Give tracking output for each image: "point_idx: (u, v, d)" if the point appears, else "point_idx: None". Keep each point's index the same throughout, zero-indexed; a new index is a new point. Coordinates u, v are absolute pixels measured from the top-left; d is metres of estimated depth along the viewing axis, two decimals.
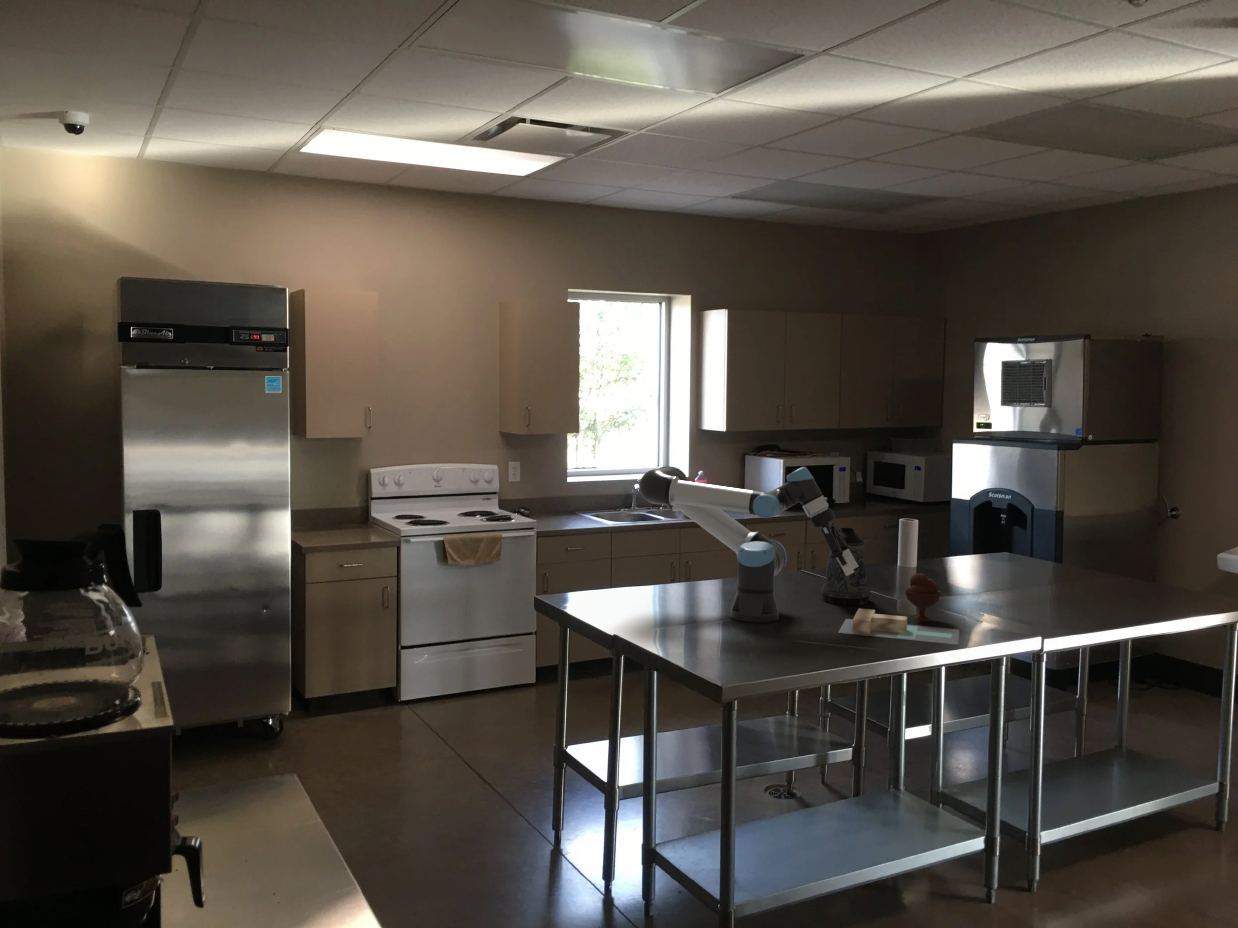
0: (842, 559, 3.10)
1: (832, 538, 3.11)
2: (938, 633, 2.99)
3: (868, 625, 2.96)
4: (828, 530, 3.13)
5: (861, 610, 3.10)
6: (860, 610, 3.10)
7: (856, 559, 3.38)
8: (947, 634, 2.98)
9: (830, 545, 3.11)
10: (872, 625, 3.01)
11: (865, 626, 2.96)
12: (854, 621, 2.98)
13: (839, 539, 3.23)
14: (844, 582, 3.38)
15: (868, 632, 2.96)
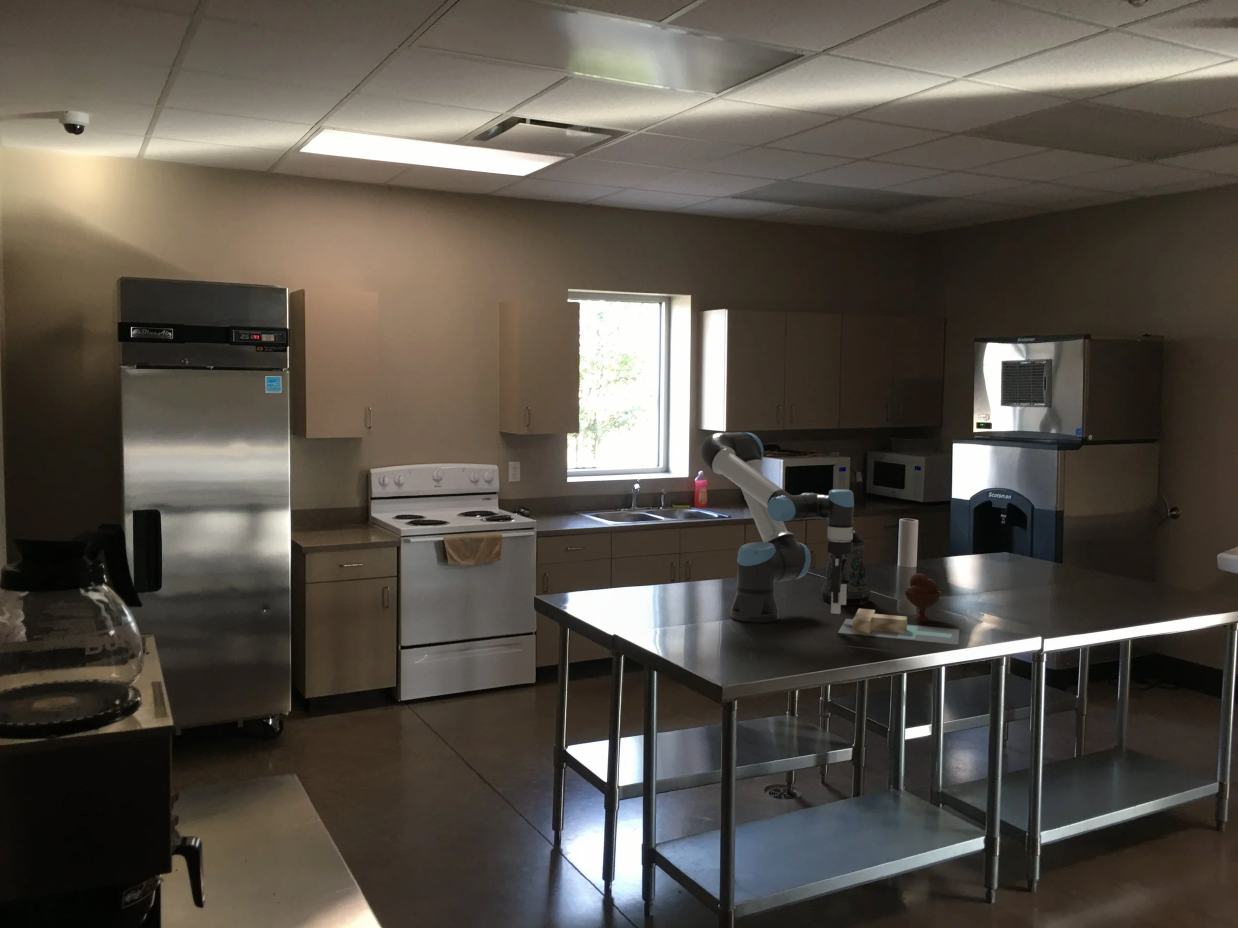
0: (836, 597, 2.98)
1: (838, 573, 2.98)
2: (938, 633, 2.99)
3: (868, 625, 2.96)
4: (839, 563, 2.99)
5: (861, 610, 3.10)
6: (860, 610, 3.10)
7: (856, 559, 3.38)
8: (947, 634, 2.98)
9: (833, 578, 2.98)
10: (872, 625, 3.01)
11: (865, 626, 2.96)
12: (854, 621, 2.98)
13: (843, 572, 3.09)
14: None
15: (868, 632, 2.96)
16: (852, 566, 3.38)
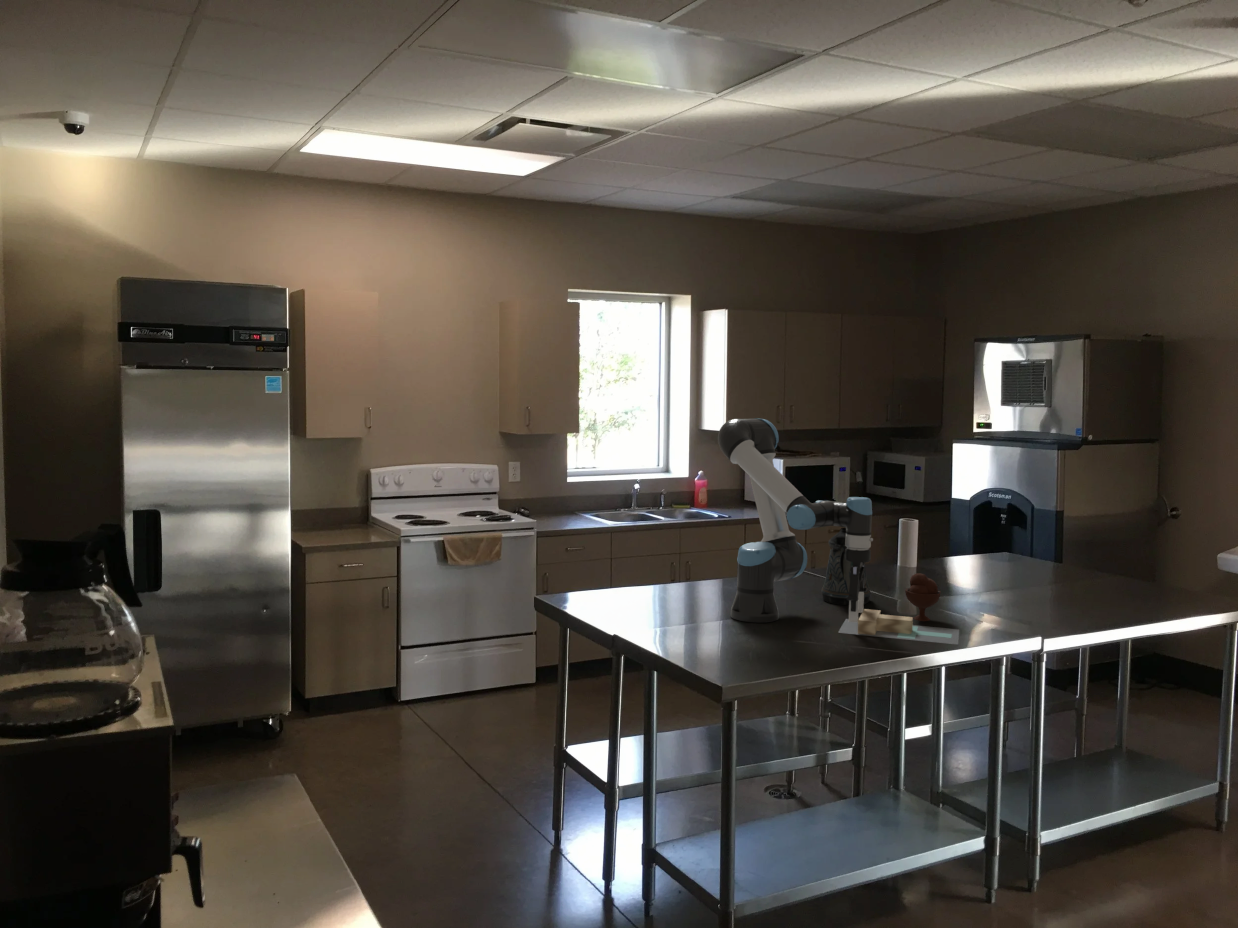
0: (854, 605, 2.97)
1: (856, 581, 2.96)
2: (938, 633, 2.99)
3: (874, 626, 2.96)
4: (857, 572, 2.97)
5: (867, 611, 3.09)
6: (865, 611, 3.09)
7: None
8: (947, 634, 2.98)
9: (851, 587, 2.96)
10: (878, 626, 3.01)
11: (871, 627, 2.96)
12: (859, 622, 2.97)
13: (861, 580, 3.08)
14: (844, 582, 3.38)
15: (874, 633, 2.96)
16: None
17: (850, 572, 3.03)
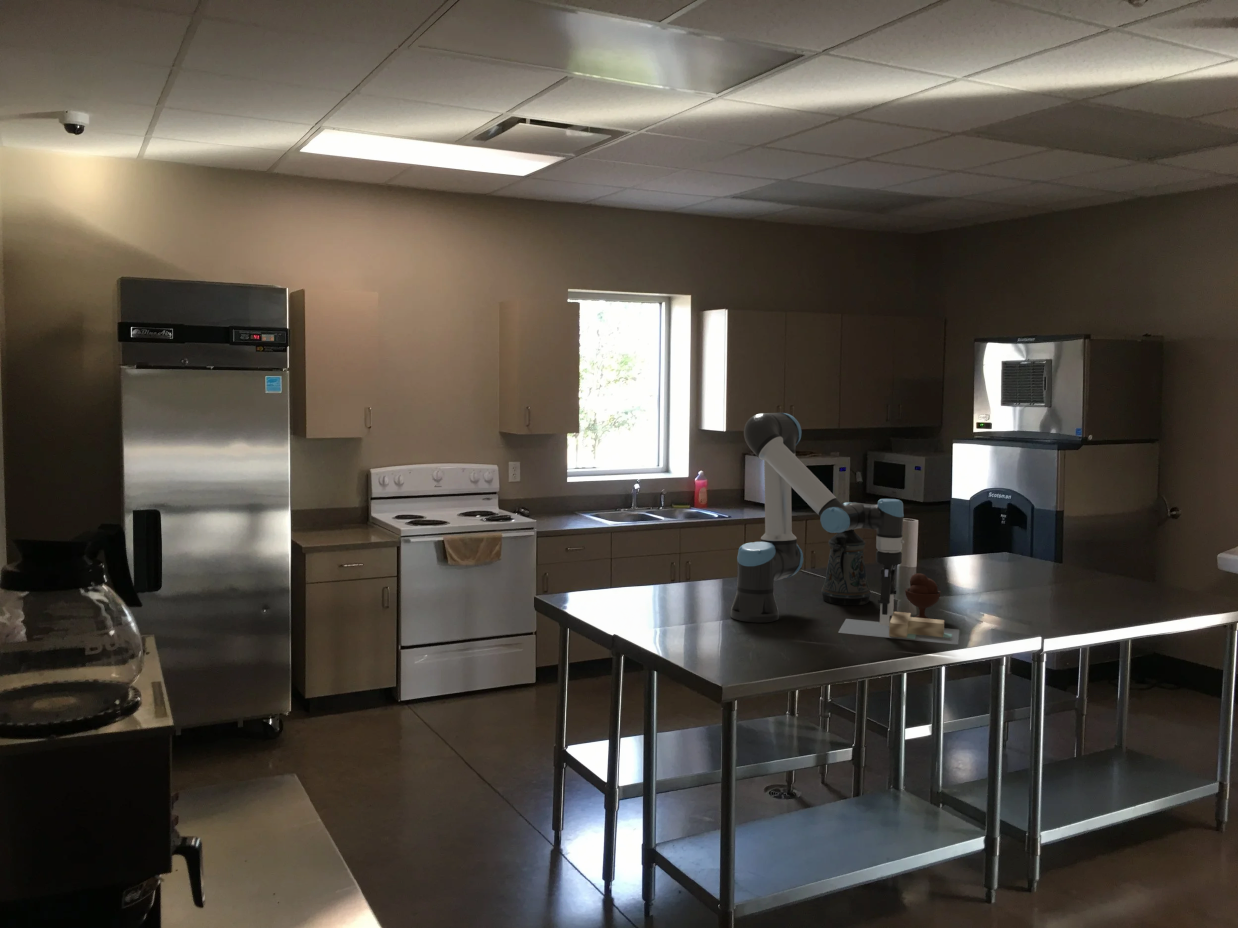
0: (885, 608, 2.94)
1: (888, 584, 2.93)
2: None
3: (905, 628, 2.93)
4: (888, 574, 2.94)
5: (897, 613, 3.06)
6: (896, 613, 3.06)
7: (856, 559, 3.38)
8: (947, 634, 2.98)
9: (882, 590, 2.93)
10: (909, 628, 2.98)
11: (902, 630, 2.93)
12: (891, 624, 2.94)
13: None
14: (844, 582, 3.38)
15: (905, 636, 2.93)
16: (852, 566, 3.38)
17: (881, 575, 3.00)
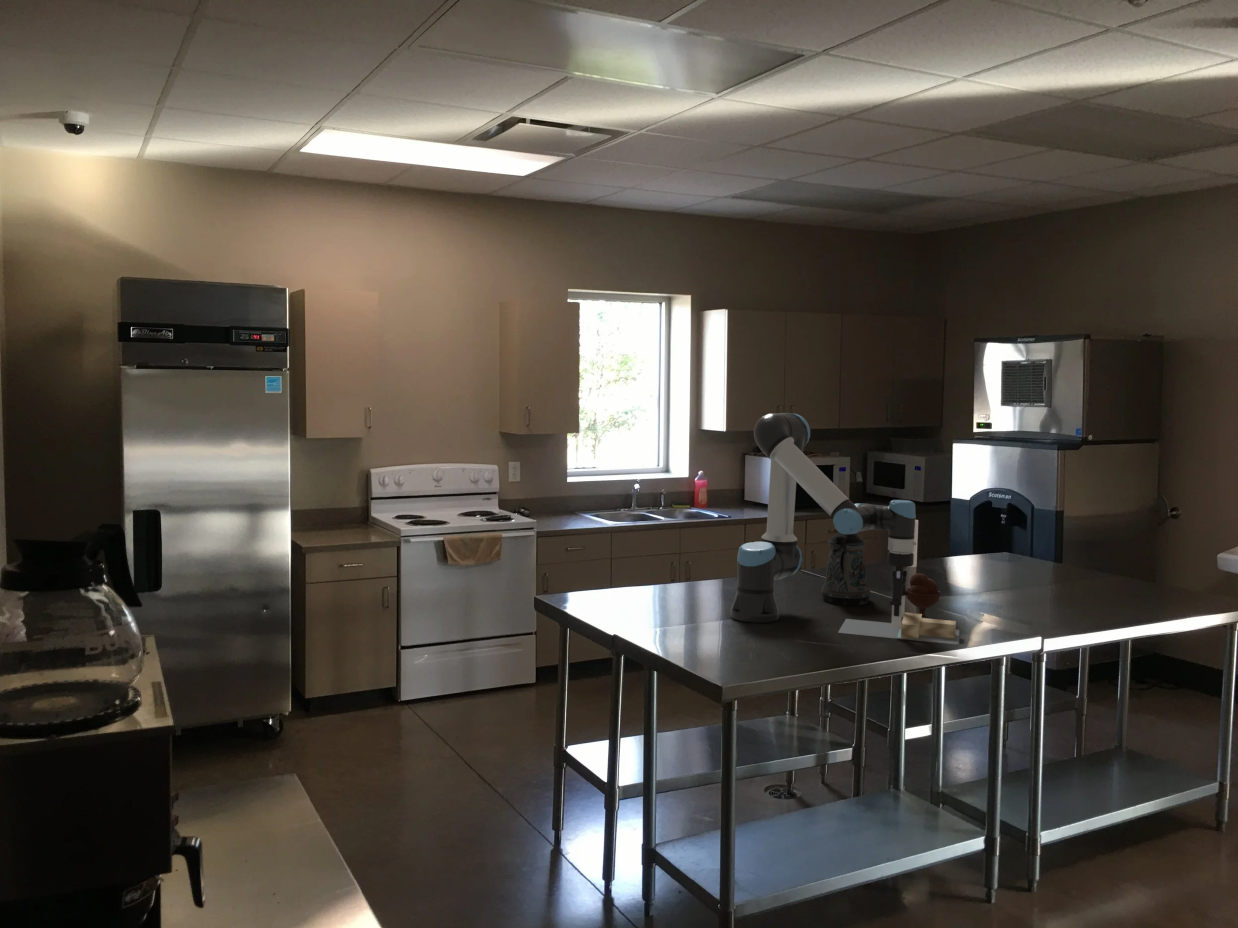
0: (897, 610, 2.93)
1: (900, 586, 2.92)
2: None
3: (917, 630, 2.92)
4: (900, 576, 2.93)
5: (908, 614, 3.05)
6: (907, 614, 3.05)
7: (856, 559, 3.38)
8: None
9: (894, 591, 2.92)
10: (920, 630, 2.97)
11: (914, 631, 2.92)
12: (903, 625, 2.93)
13: None
14: (844, 582, 3.38)
15: (917, 637, 2.92)
16: (852, 566, 3.38)
17: None
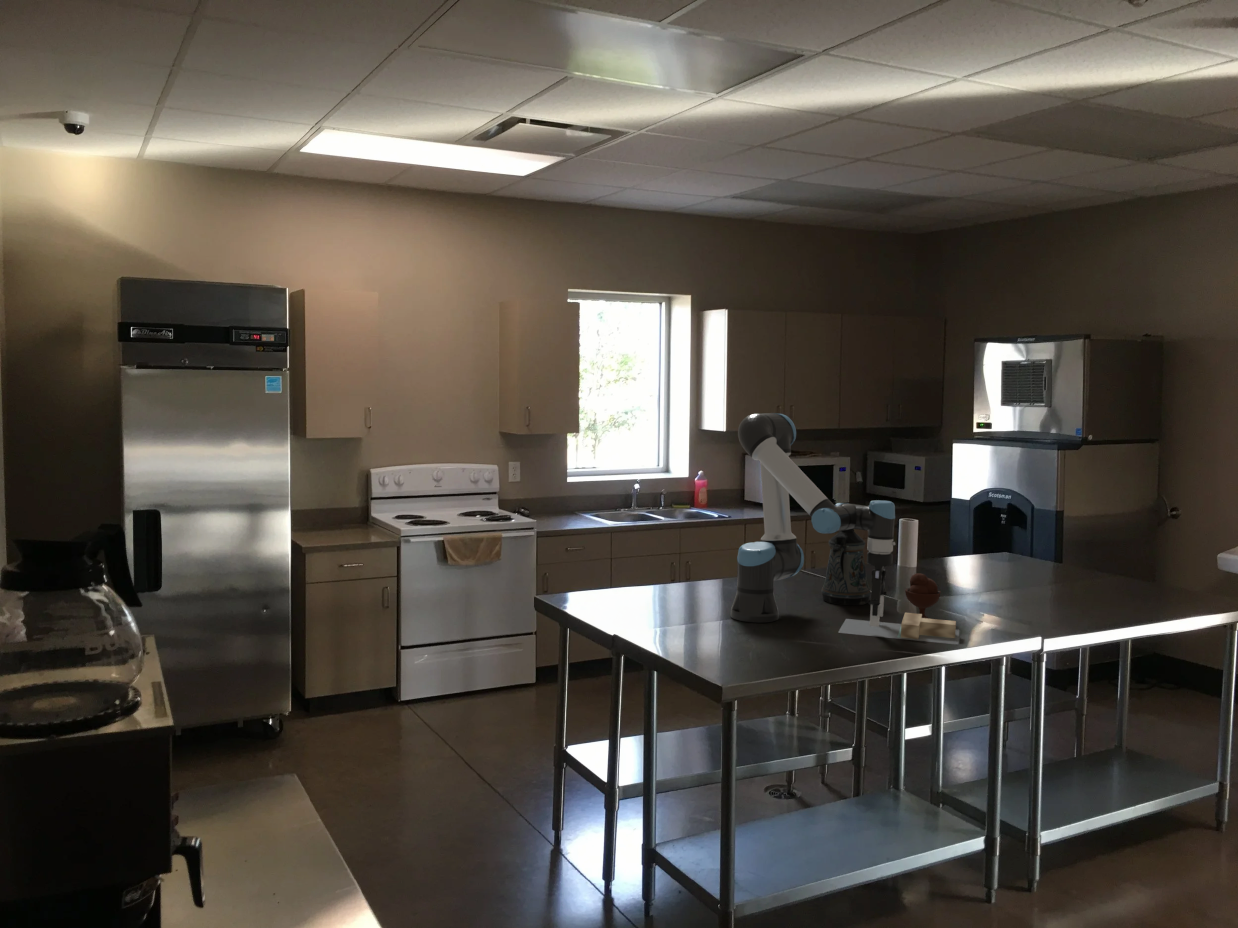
0: (875, 609, 2.95)
1: (878, 586, 2.95)
2: None
3: (917, 630, 2.92)
4: (879, 576, 2.95)
5: (908, 614, 3.05)
6: (907, 614, 3.05)
7: (856, 559, 3.38)
8: None
9: (873, 591, 2.94)
10: (920, 630, 2.97)
11: (914, 631, 2.92)
12: (903, 625, 2.93)
13: None
14: (844, 582, 3.38)
15: (917, 637, 2.92)
16: (852, 566, 3.38)
17: None
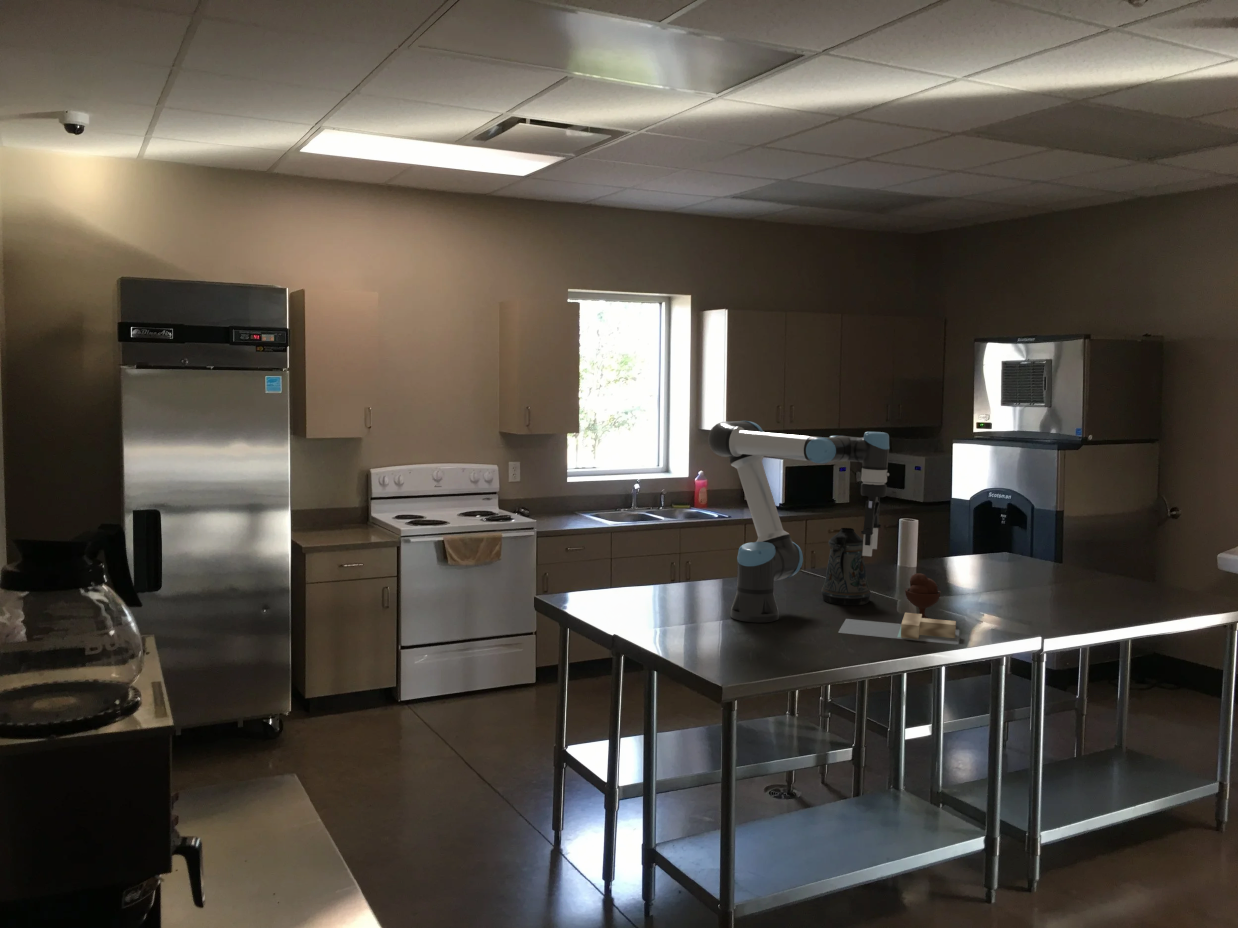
0: (868, 539, 2.96)
1: (871, 515, 2.95)
2: None
3: (917, 630, 2.92)
4: (872, 506, 2.96)
5: (908, 614, 3.05)
6: (907, 614, 3.05)
7: (856, 559, 3.38)
8: None
9: (866, 520, 2.95)
10: (920, 630, 2.97)
11: (914, 631, 2.92)
12: (903, 625, 2.93)
13: (875, 516, 3.07)
14: (844, 582, 3.38)
15: (917, 637, 2.92)
16: (852, 566, 3.38)
17: None
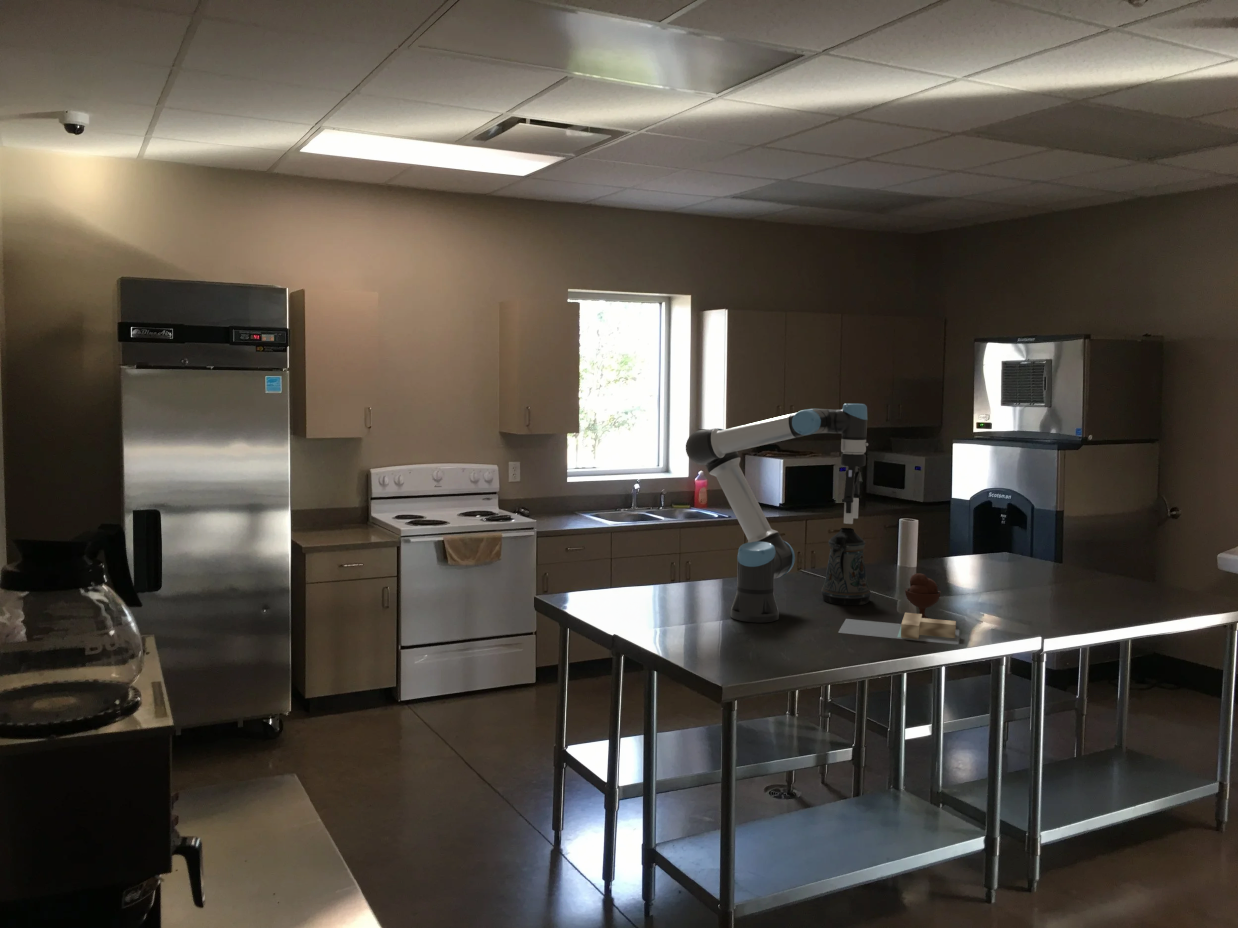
0: (849, 507, 3.04)
1: (851, 484, 3.04)
2: None
3: (917, 630, 2.92)
4: (852, 474, 3.05)
5: (908, 614, 3.05)
6: (907, 614, 3.05)
7: (856, 559, 3.38)
8: None
9: (846, 489, 3.04)
10: (920, 630, 2.97)
11: (914, 631, 2.92)
12: (903, 625, 2.93)
13: (856, 486, 3.15)
14: (844, 582, 3.38)
15: (917, 637, 2.92)
16: (852, 566, 3.38)
17: None
